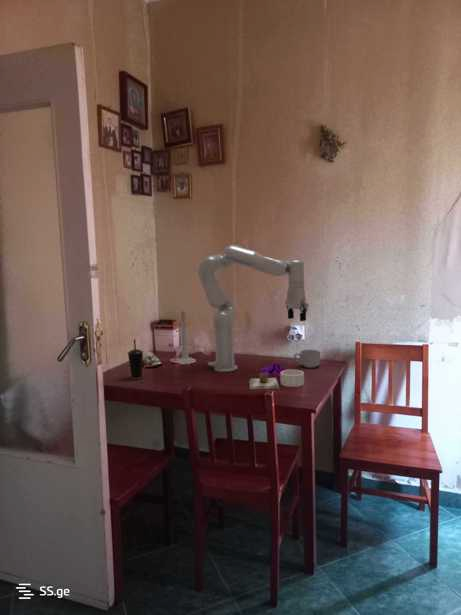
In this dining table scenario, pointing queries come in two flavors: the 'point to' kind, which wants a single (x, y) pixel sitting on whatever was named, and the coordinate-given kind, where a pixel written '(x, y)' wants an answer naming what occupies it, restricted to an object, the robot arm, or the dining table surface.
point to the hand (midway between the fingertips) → (296, 319)
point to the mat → (259, 388)
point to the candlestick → (184, 344)
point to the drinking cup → (135, 362)
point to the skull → (150, 359)
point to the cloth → (273, 369)
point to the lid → (263, 382)
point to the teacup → (308, 358)
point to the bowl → (292, 378)
